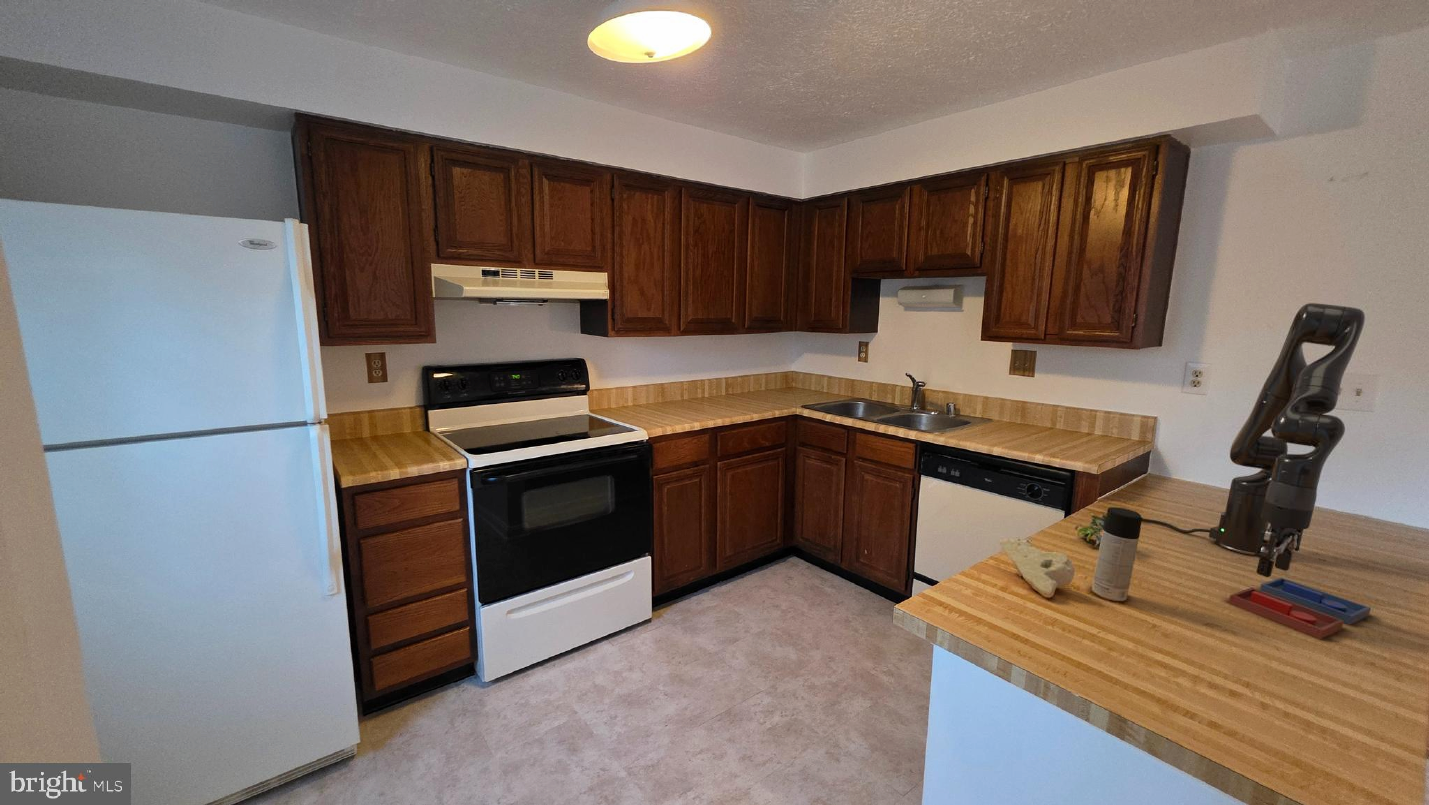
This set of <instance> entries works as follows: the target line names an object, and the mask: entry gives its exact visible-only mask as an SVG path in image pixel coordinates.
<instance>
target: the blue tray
mask: <svg viewBox="0 0 1429 805" xmlns="http://www.w3.org/2000/svg"><path fill="white" fill-rule="evenodd" d="M1286 581H1287V582H1290V583H1293V584H1296V585H1299V586H1302V587H1305V588H1308V589H1311V590H1314V591H1317V592H1320V593H1323V594H1324V597H1323V599H1327V600H1332V601H1336V602H1339V603H1341V604H1343V605H1345V606H1347V610H1346V613H1344V612H1341V611H1338V610H1336V609H1333V608H1330V607H1327V606H1324V605H1321V604H1319V603H1316V602H1313V601H1310V600H1307V599H1304V598H1302V597H1299V596H1296V595H1293V594H1290V593H1287V592H1284V591H1282V587H1283V583H1284V582H1286ZM1259 590H1260V591H1263V592H1266V593H1268V594H1271V595H1274V596H1277V597H1279V598H1282V599H1285V600H1288V601H1290V602H1293V603H1296V604H1299V605H1302V606H1304V607H1307V608H1310V609H1313V610H1315V611H1318V612H1321V613H1324V614H1326V615H1329V616H1332V617H1335V618H1338V619H1340V620H1343V621H1344V622H1343V624H1348V625H1351V626H1352V625H1354V624H1355V623H1358V622H1359V621H1361V620H1363V619H1366V618H1368V617H1369V616H1370V613H1371V609H1372V608H1371V607H1370V606H1367V605H1364V604H1362V603H1358V602H1356V601H1352V600H1349V599H1346V598H1343V597H1340V596H1338V595H1335V594H1331V593H1328V592H1325V591H1322V590H1319V589H1317V588H1314V587H1311V586H1308V585H1305V584H1301V583H1299V582H1296V581H1292V580H1289V579H1286V578H1284V577H1277V578H1275V579H1272V580H1269V581H1266V582H1264V583H1261V584H1260V588H1259Z"/></svg>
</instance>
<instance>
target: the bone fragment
mask: <svg viewBox="0 0 1429 805" xmlns="http://www.w3.org/2000/svg"><path fill="white" fill-rule="evenodd" d="M1032 541H1033V539H1031V538H1026V539H1021V538H1019V537H1015V538H1002V539H1000V540H999V544H1000V548H1001V549H1002V550H1003V551H1004V553H1005V554H1006V555H1007V557H1008V559H1009V560H1010V561H1011V562H1012V563H1013V564H1014V569H1016V570H1017V575H1018V576H1019V577H1022V578H1023V579H1024V580H1025V581H1026V583H1028V584H1029V585H1030V586H1031V587H1032V589H1033V590H1035V591H1036V592H1037V593H1038V594H1040V595H1041V596H1042V597H1043V598H1046V599H1049V598H1051V597H1053V596H1054V594H1055V591H1056V589H1057V588H1060V589H1063V588H1065V587H1067V586H1069V585H1071V583H1073V580H1074V577H1075V567H1074V565H1073V562H1072V561H1071V560H1070V558H1068V556H1067V555H1066V554H1065V553H1063V552H1059V551H1044V550H1042V549H1039V548H1037V547H1036V546H1033V543H1032Z"/></svg>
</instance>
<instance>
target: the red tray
mask: <svg viewBox="0 0 1429 805" xmlns="http://www.w3.org/2000/svg"><path fill="white" fill-rule="evenodd" d="M1254 591H1256V592H1259V593H1262V594H1264V595H1267V596H1270V597H1273V598H1275V599H1278V600H1281V601H1284V602H1286V603H1289V604H1292V605H1293V608H1292V611H1300V612H1303V613H1306V614H1309V615H1311V616H1313V617H1315V618H1316V623H1315V625H1311V624H1308V623H1306V622H1303V621H1300V620H1298V619H1295V618H1292V617H1290V616H1287V615H1284V614H1282V613H1279V612H1276V611H1274V610H1271V609H1269V608H1266V607H1263V606H1261V605H1258V604H1255V603H1253V602H1250V598H1251V593H1252V592H1254ZM1228 604H1231V605H1233V606H1236V607H1238V608H1241V609H1243V610H1246V611H1248V612H1251V613H1253V614H1256V615H1259V616H1261V617H1263V618H1266V619H1268V620H1271V621H1273V622H1276V623H1279V624H1281V625H1284V626H1286V627H1289V628H1292V629H1294V630H1297V631H1299V632H1302V633H1304V634H1307V635H1310V636H1312V637H1314V638H1317V639H1319V640H1323V639H1324V638H1327V637H1328V636H1330V635H1333V634H1335V633H1337V632H1339V631H1341V630H1342V629H1343V624H1344V621H1343V620H1340V619H1338V618H1335V617H1332V616H1329V615H1326V614H1324V613H1321V612H1318V611H1315V610H1313V609H1310V608H1307V607H1304V606H1302V605H1299V604H1296V603H1293V602H1290V601H1288V600H1285V599H1282V598H1279V597H1277V596H1274V595H1271V594H1268V593H1266V592H1263V591H1260V589H1257V588H1254V587H1249V588H1246V589H1243V590H1240V591H1238V592H1234V593H1231V594H1230V595H1229V599H1228Z"/></svg>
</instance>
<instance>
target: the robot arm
mask: <svg viewBox="0 0 1429 805" xmlns="http://www.w3.org/2000/svg"><path fill="white" fill-rule="evenodd" d="M1365 320H1366V314H1365V312H1364V311H1363V310H1362V309H1360V308H1357V307H1351V306H1346V305H1345V306H1343V305H1338V304H1337V305H1336V304H1328V303H1327V304H1326V303H1316V302H1309V303H1305V304H1304V305H1302V306H1301V307H1300V308H1299V310H1298V311H1297V313H1296V314H1295V316H1294V318H1293V320H1292V322H1291V325H1290V327H1289V330H1288V332H1287V336H1286V337H1285V340H1284V343H1283V345H1282V348H1281V351H1280V352H1279V355H1278V357H1277V359H1276V361H1275V363H1274V364H1273V365H1274V366H1273V367H1272V369H1271V371H1270V373H1269V374H1268V376H1267V378H1266V380H1265V382H1264V384H1263V386H1262V387H1261V389H1260V392H1259V394H1258V396H1257V399H1256V401H1255V403H1254V405H1253V407H1252V410H1251V412H1250V414H1249V416H1248V417H1247V419H1246V421H1245V422H1244V423H1243V425H1242V427H1241V428H1240V430H1239V431H1238V433H1237V434H1236V436H1235V438H1234V439H1233V441H1232V443H1231V445H1230V450H1229V458H1230V461H1231V462H1232V463H1233V464H1234V465H1237V466H1241V467H1246V468H1252V469H1259V471H1258V472H1256V473H1253V474H1249V475H1243V476H1236V477H1234V478H1232V479H1231V482H1230V487H1229V492H1228V496H1227V501H1226V506H1225V510H1224V511H1223V512H1221V514H1220V518H1219V523H1218V525H1217V526H1213V527H1210V528H1209V529H1208V528H1192V529H1188V530H1187V529H1183V528H1180V527H1178V526H1175V525H1173V524H1171V523H1168V522H1164V521H1161V520H1156V519H1150V518H1144V517H1142V522H1144V523H1145V522H1146V523H1152V524H1157V525H1161V526H1165V527H1168V528H1171V529H1172V530H1174V531H1176V532H1179V533H1183V534H1193V533H1198V532H1200V533H1209V534H1208V538H1209V539H1213V540H1214V541H1215V542H1214V544H1215V545H1218V546H1220V547H1222V548H1224V549H1227V550H1229V551H1231V552H1235V553H1238V554H1239V553H1240V554H1243V555H1250V556H1254V557H1258V558H1259V559H1258V563H1257V568H1256V574H1257V575H1260V576H1262V577H1265V578H1270V577H1271V576H1272V573H1273V569H1274V567H1275V568H1276V569H1278V570H1282V571H1284V572H1285V571H1288V570H1289V569H1290V566H1291V563H1292V558H1293V556H1294V555H1295V554H1296V552H1299V551H1300V546H1301V543H1302V537H1303V533H1304V530H1307V529H1309V528H1310V526H1311V522H1312V518H1313V514H1314V510H1315V506H1316V502H1317V496H1318V486H1319V484H1320V478H1321V475H1322V471H1323V468H1324V466H1325V463H1326V461H1327V460H1328V458H1329V456H1330V455H1331V453H1332V452H1333V451H1334V450H1335V448H1336V447H1337V445H1338V444H1339V443H1340V442H1341V441H1342V439H1343V437H1344V435H1345V432H1346V426H1345V424H1344V421H1343V420H1342V419H1341V418H1339V417H1338V416H1336V415H1330V414H1329V413H1331V412H1332V411H1334V410H1335V408H1336V406H1337V403H1338V399H1339V395H1340V390H1341V385H1342V381H1343V377H1344V374H1345V372H1346V370H1347V368H1348V365H1349V363H1350V361H1351V360H1352V356H1353V355H1354V352H1355V349H1356V347H1357V344H1358V342H1359V339H1360V337H1361V334H1362V332H1363V329H1364V325H1365V323H1366V322H1365ZM1304 344H1313V345H1320V346H1328V347H1333V348H1332V350H1330V351H1329V352H1327V353H1326V354H1325V355H1324V356H1322V357H1320V358H1318V359H1317V360H1314V361H1313V362H1311V363H1309V364H1307V361H1306V358H1305V355H1304V350H1303V345H1304ZM1269 430H1270V432H1271V435H1272V436H1271V435H1264V434H1265V433H1267V432H1268V431H1269ZM1288 444H1292V445H1299V446H1306V447H1312V448H1313V449H1312V450H1311V451H1309V452H1307V453H1288V452H1289V446H1288ZM1269 524H1270V525H1269Z"/></svg>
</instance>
